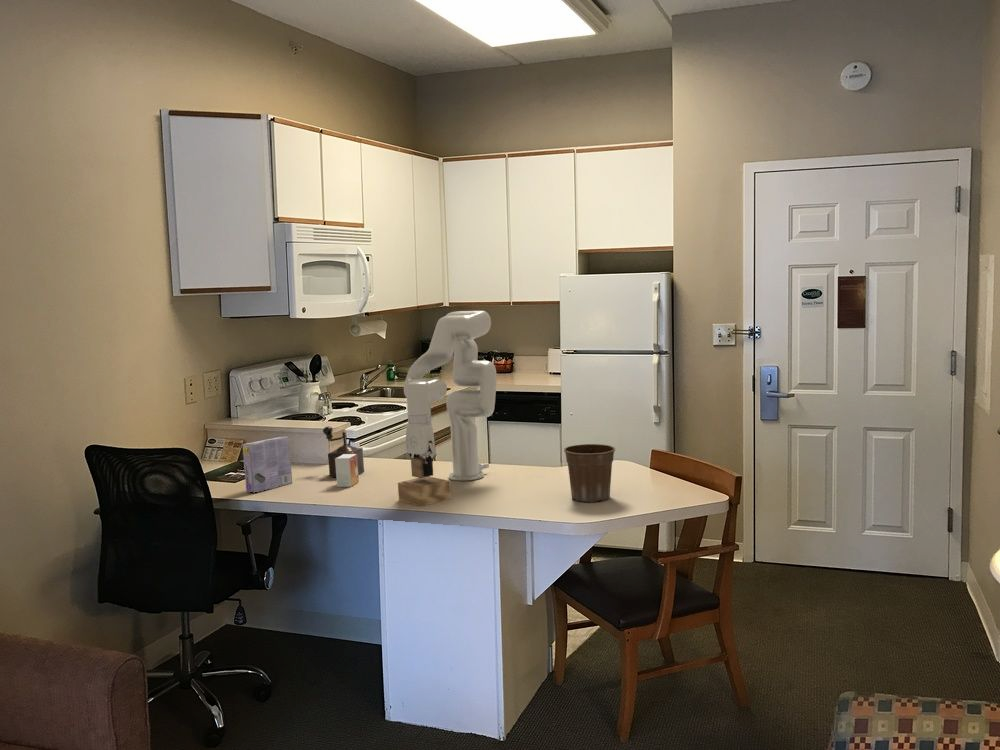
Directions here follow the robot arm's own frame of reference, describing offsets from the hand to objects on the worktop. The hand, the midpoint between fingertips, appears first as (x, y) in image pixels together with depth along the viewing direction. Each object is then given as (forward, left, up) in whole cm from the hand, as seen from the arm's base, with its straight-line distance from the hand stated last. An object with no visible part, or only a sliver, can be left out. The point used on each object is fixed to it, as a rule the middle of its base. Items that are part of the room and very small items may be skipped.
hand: (422, 473), depth 299 cm
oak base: (0, 0, -9) cm, 9 cm away
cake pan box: (+23, -61, -9) cm, 66 cm away
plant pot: (-34, +43, -9) cm, 56 cm away
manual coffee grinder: (-5, -58, -9) cm, 59 cm away
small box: (+3, -41, -9) cm, 42 cm away
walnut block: (0, 0, -1) cm, 1 cm away
